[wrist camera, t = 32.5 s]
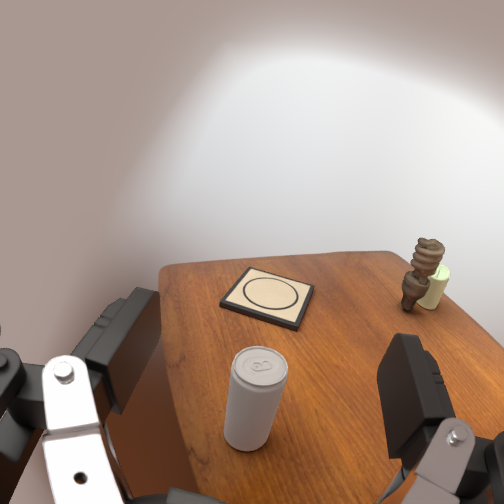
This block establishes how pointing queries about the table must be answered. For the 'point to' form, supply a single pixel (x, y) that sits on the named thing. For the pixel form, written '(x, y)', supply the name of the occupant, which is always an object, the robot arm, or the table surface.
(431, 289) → the candle
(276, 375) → the beverage can
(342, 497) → the table surface
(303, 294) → the black and cream coaster
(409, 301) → the light bulb
